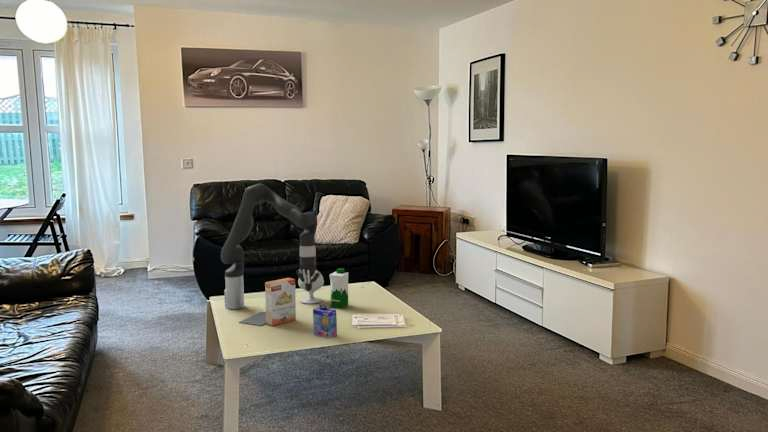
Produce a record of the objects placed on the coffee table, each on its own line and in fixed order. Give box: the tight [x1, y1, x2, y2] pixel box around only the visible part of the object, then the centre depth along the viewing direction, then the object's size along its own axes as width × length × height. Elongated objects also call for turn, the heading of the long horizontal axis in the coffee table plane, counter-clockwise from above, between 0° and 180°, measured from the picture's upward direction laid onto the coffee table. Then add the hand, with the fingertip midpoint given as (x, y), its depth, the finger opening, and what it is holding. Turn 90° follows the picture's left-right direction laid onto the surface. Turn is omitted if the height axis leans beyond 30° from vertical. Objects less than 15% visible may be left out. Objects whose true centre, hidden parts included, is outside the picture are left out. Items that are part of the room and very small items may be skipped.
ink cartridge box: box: [312, 304, 338, 339], centre depth 260 cm, size 10×6×14 cm, turn 58°
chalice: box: [297, 273, 325, 305], centre depth 314 cm, size 14×14×15 cm
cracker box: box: [264, 277, 297, 327], centre depth 279 cm, size 14×6×21 cm, turn 134°
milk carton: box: [328, 267, 349, 310], centre depth 304 cm, size 9×9×20 cm
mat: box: [238, 311, 267, 327], centre depth 285 cm, size 13×18×1 cm
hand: (308, 290), depth 271 cm, fingers closed
